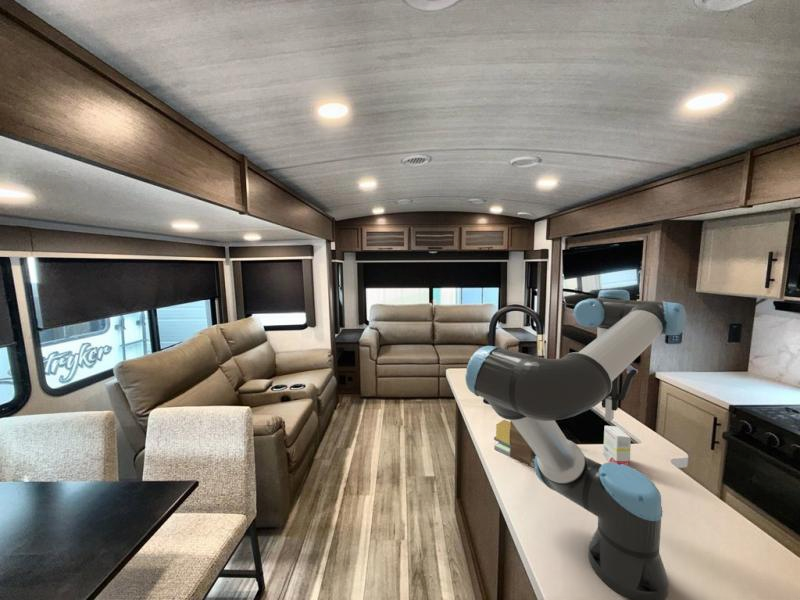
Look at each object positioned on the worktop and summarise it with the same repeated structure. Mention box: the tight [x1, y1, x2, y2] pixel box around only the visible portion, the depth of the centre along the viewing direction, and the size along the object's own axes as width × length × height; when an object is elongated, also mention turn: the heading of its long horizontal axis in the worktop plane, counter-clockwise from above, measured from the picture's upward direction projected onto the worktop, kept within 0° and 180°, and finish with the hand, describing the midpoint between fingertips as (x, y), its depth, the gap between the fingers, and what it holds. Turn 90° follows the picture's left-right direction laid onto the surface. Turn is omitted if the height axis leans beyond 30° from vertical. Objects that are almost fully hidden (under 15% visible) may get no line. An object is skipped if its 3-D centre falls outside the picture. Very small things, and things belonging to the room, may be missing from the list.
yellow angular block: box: [493, 419, 536, 458], centre depth 122 cm, size 6×20×7 cm, turn 41°
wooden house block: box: [509, 421, 533, 467], centre depth 119 cm, size 12×8×14 cm, turn 131°
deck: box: [493, 442, 536, 469], centre depth 120 cm, size 12×22×2 cm, turn 41°
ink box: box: [602, 425, 632, 467], centre depth 114 cm, size 9×5×12 cm, turn 175°
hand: (609, 419), depth 93 cm, fingers closed
